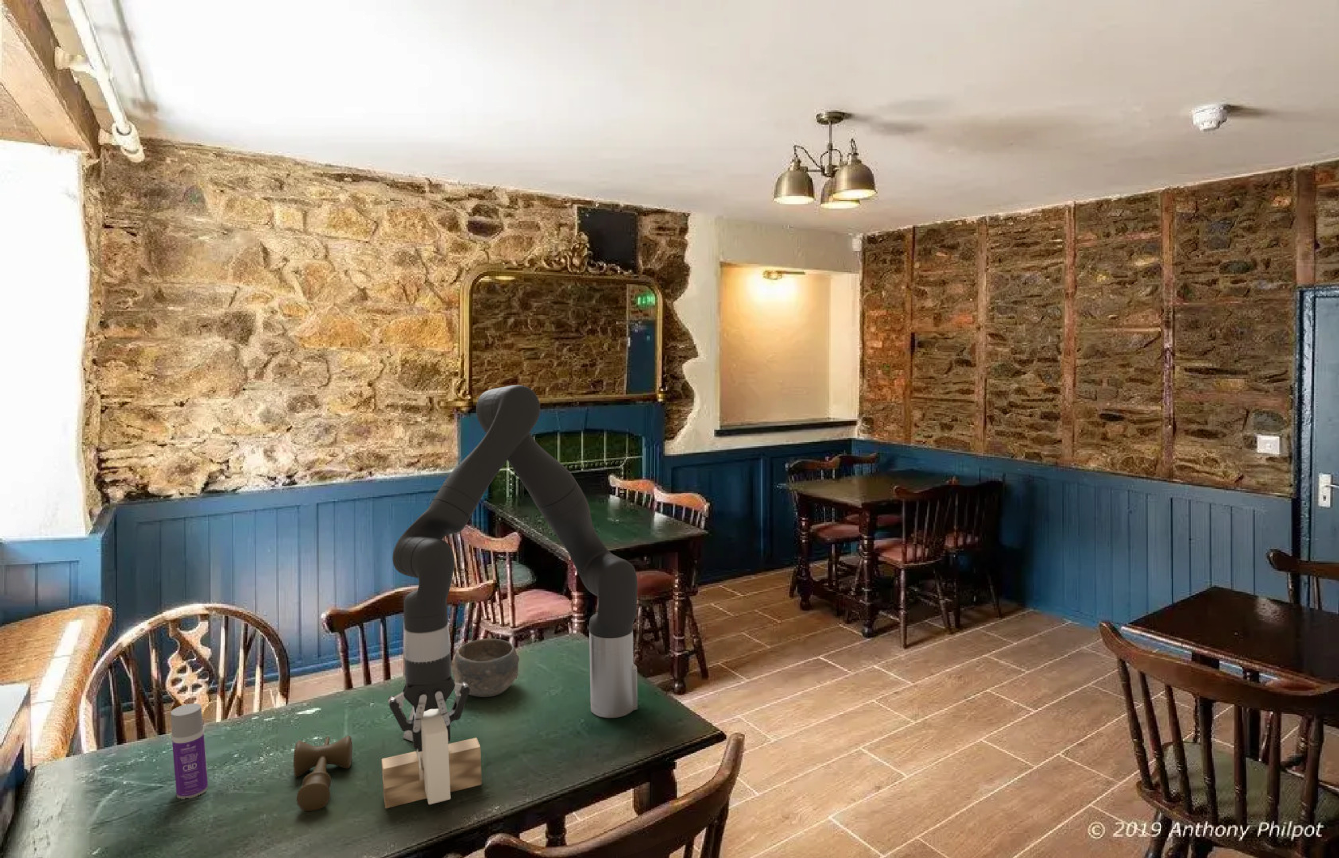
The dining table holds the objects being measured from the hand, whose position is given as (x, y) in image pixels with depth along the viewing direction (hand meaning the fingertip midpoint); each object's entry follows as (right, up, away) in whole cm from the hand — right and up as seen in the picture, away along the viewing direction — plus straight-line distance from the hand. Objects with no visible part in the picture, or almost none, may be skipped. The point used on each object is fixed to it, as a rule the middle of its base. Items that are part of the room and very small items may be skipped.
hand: (431, 746), depth 130 cm
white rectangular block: (0, -6, +1) cm, 6 cm away
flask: (-8, -6, +20) cm, 23 cm away
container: (-42, -9, +1) cm, 43 cm away
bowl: (0, -4, +39) cm, 39 cm away
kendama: (-21, -8, +5) cm, 23 cm away
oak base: (0, -8, +1) cm, 8 cm away
